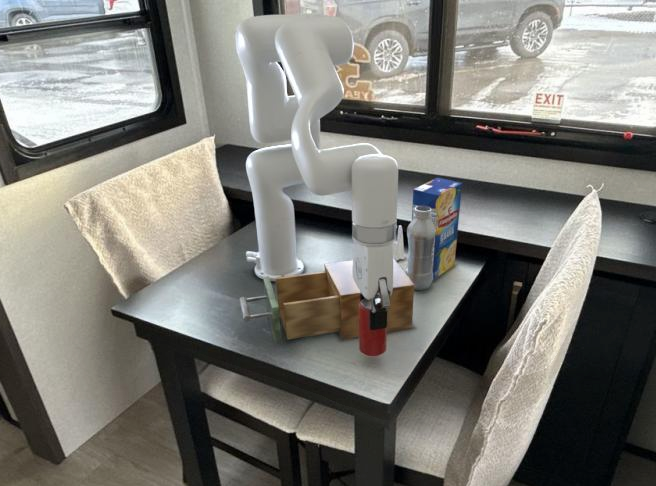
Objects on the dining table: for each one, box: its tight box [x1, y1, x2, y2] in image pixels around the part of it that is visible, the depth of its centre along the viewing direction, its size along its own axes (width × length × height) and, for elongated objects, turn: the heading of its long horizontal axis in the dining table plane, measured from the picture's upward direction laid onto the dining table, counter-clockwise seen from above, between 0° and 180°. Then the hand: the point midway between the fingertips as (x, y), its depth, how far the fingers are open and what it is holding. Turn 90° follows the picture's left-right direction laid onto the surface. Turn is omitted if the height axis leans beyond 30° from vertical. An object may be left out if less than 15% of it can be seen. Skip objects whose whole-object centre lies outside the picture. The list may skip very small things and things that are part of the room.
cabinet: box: [323, 258, 415, 340], centre depth 120 cm, size 16×15×11 cm
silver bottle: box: [405, 206, 436, 291], centre depth 128 cm, size 6×7×20 cm
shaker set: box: [392, 224, 405, 262], centre depth 146 cm, size 12×4×11 cm, turn 52°
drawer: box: [239, 270, 341, 345], centre depth 116 cm, size 20×13×9 cm, turn 104°
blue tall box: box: [411, 177, 463, 281], centre depth 135 cm, size 7×11×22 cm, turn 140°
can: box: [358, 298, 388, 357], centre depth 103 cm, size 5×5×10 cm
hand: (373, 319), depth 103 cm, fingers closed on can, 5 cm apart
